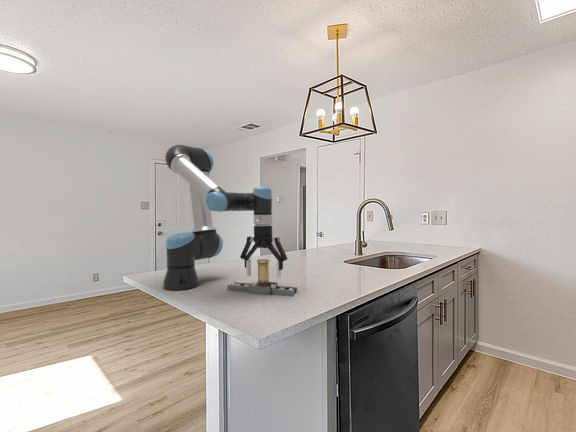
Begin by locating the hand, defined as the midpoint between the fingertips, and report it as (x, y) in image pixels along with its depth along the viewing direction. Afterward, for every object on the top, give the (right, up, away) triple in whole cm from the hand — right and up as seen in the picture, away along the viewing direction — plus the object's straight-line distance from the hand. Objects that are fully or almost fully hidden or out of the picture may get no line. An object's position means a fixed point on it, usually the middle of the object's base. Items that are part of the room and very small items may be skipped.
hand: (263, 276), depth 126 cm
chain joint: (0, -6, 0) cm, 6 cm away
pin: (0, -6, 0) cm, 6 cm away
